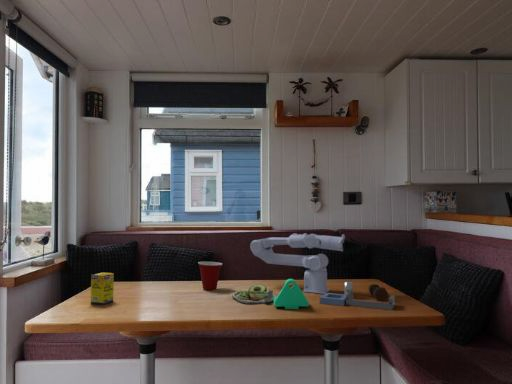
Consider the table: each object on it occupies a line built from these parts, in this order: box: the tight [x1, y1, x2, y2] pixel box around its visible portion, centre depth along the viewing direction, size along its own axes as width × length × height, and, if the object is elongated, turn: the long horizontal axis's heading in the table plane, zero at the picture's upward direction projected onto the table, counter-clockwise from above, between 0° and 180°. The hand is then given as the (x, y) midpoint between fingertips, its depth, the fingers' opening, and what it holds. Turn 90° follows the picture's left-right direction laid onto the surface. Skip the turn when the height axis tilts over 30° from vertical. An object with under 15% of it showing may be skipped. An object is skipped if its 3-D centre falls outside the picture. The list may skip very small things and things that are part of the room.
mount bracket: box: [345, 290, 396, 311], centre depth 144 cm, size 16×8×4 cm, turn 64°
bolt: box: [368, 283, 389, 302], centre depth 158 cm, size 6×5×15 cm
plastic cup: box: [197, 261, 223, 292], centre depth 171 cm, size 11×11×12 cm
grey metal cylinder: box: [343, 281, 354, 295], centre depth 156 cm, size 3×3×6 cm
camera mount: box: [273, 278, 309, 310], centre depth 142 cm, size 12×8×10 cm, turn 92°
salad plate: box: [231, 283, 278, 305], centre depth 153 cm, size 19×18×5 cm
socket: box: [319, 292, 346, 307], centre depth 148 cm, size 9×9×2 cm
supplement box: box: [90, 272, 115, 306], centre depth 147 cm, size 6×6×11 cm
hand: (364, 246), depth 158 cm, fingers open, 7 cm apart
